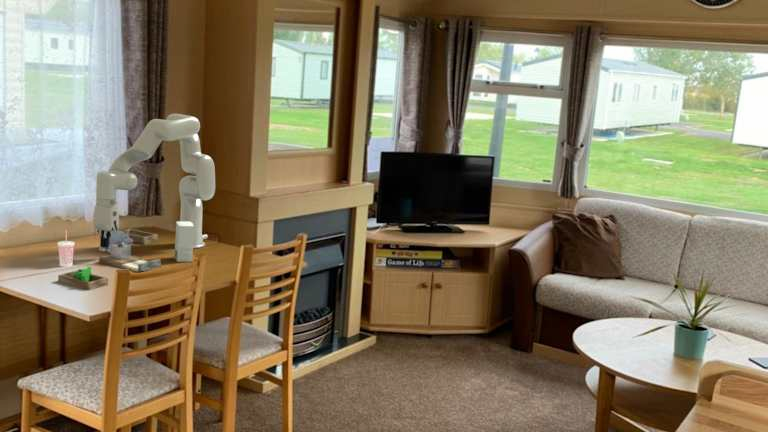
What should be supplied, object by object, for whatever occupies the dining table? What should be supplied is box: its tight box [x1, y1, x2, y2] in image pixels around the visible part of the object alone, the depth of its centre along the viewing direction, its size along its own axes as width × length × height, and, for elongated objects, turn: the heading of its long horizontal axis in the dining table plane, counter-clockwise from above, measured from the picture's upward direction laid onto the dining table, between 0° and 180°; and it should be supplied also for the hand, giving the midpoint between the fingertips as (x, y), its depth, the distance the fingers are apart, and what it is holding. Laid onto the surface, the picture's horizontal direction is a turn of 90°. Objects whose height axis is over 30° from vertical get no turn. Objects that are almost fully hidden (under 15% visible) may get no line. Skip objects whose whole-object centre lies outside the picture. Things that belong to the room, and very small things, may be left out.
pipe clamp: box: [75, 266, 92, 285], centre depth 275 cm, size 11×4×5 cm, turn 10°
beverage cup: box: [57, 229, 76, 268], centre depth 296 cm, size 6×6×14 cm
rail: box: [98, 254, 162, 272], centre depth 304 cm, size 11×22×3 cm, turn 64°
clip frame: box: [121, 228, 159, 245], centre depth 346 cm, size 8×16×3 cm, turn 64°
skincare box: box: [173, 220, 194, 263], centre depth 317 cm, size 8×7×16 cm
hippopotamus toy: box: [98, 229, 133, 253], centre depth 325 cm, size 11×15×10 cm
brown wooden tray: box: [57, 269, 109, 291], centre depth 276 cm, size 8×16×2 cm, turn 64°
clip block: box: [110, 242, 132, 260], centre depth 306 cm, size 6×6×6 cm
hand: (104, 246), depth 309 cm, fingers closed
